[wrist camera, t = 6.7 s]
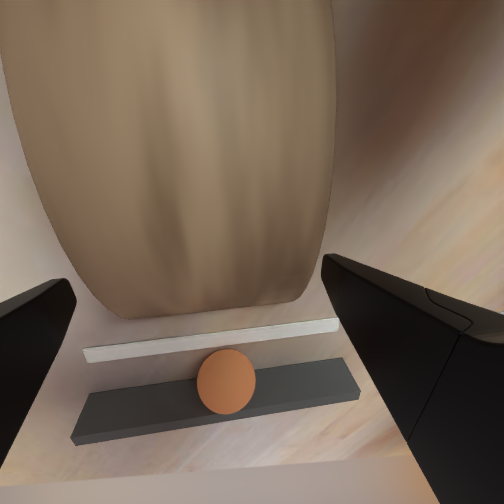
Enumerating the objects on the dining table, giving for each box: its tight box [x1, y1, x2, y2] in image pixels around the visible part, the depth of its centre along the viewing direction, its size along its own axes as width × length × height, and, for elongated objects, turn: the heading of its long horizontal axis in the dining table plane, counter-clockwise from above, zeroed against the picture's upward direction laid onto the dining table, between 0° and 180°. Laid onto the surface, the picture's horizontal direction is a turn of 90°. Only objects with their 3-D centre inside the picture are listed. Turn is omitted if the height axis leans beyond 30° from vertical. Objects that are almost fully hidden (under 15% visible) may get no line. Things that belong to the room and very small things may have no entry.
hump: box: [0, 0, 336, 319], centre depth 19 cm, size 10×22×22 cm, turn 2°
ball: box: [197, 349, 256, 414], centre depth 18 cm, size 4×4×4 cm
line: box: [82, 317, 340, 363], centre depth 18 cm, size 18×1×1 cm, turn 92°
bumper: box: [70, 358, 361, 446], centre depth 19 cm, size 20×1×3 cm, turn 92°
